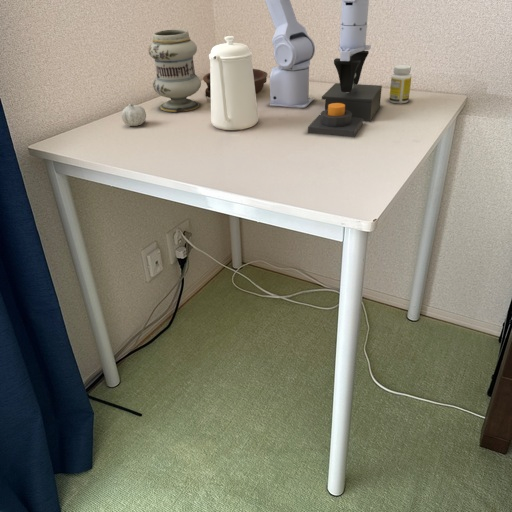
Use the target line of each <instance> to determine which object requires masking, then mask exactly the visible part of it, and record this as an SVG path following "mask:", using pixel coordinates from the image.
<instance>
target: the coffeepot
mask: <svg viewBox="0 0 512 512" xmlns="http://www.w3.org/2000/svg"><path fill="white" fill-rule="evenodd" d="M223 38H224V41H225V42H226V43H219V44H216V45H214V46H213V47H212V48H211V50H210V53H209V54H208V59H209V67H210V68H209V73H210V86H211V98H210V122H211V125H212V126H213V127H214V128H216V129H219V130H223V131H242V130H247V129H249V128H252V127H254V126H256V124H258V122H259V111H258V105H257V103H258V101H257V94H256V93H255V84H254V75H253V69H254V68H253V59H252V57H253V51H251V50H250V48H249V46H248V45H247V44H245V43H242V42H234V40H235V36H234V35H226V36H224V37H223Z"/></svg>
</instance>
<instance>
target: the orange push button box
mask: <svg viewBox="0 0 512 512" xmlns="http://www.w3.org/2000/svg"><path fill="white" fill-rule="evenodd" d="M363 122H364V121H363V118H356V117H352V113H351V112H350V111H348V110H345V115H342V116H330V115H328V110H325V109H324V110H322V111H321V112H320V114H318V116H316V118H315V119H314V120H313V121H312V122H311V123H310V124H309V125H308V126H307V134H312V135H323V136H336V137H346V138H355V136H356V135H357V134H358V132H359V131H360V129H361V127H362V126H363Z"/></svg>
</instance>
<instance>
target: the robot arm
mask: <svg viewBox="0 0 512 512" xmlns="http://www.w3.org/2000/svg"><path fill="white" fill-rule="evenodd" d="M264 2H265V4H266V7H267V10H268V13H269V16H270V19H271V21H272V24H273V27H274V30H275V32H274V34H273V36H272V39H271V43H272V46H273V59H274V61H275V63H276V64H277V66H273V67H272V69H271V71H270V75H269V95H270V97H269V98H270V100H269V101H270V103H269V106H271V107H282V108H283V107H284V108H298V109H305V108H307V107H308V106H309V105H310V104H311V103H312V102H313V101H314V98H313V97H309V95H310V93H309V91H310V65H311V60H312V59H313V58H314V56H315V52H316V44H315V42H314V40H313V39H312V38H311V36H309V34H308V31H307V29H306V28H305V26H303V24H301V23H300V22H298V19H297V17H296V14H295V11H294V8H293V6H292V2H291V0H264ZM369 4H370V0H341V9H340V10H341V11H340V27H339V29H340V31H339V45H338V51H339V53H340V55H339V56H340V57H339V58H338V57H336V58H334V59H333V65H334V67H335V70H336V71H337V75H338V80H339V83H340V87H341V92H351V90H352V86H353V81H354V84H359V81H360V79H361V75H362V71H363V66H364V64H365V61H366V59H367V57H368V56H369V51H370V50H371V49H372V45H370V44H366V42H367V31H368V18H369ZM355 73H356V77H355V78H354V76H355Z"/></svg>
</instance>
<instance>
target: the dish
mask: <svg viewBox="0 0 512 512" xmlns="http://www.w3.org/2000/svg"><path fill="white" fill-rule="evenodd" d="M253 75H254V84H255V93H256V95H257V94H258V93H260V92H262V91H263V89H264V85H265V84H266V83H267V78H268V73H267V72H266V71H265V70H261V69H258V68H253ZM202 80H203V82H204V83H205V84H206V86H207V87H206V88H205V90H204V91H205V92H204V93H205V97H207V98H209V99H211V86H210V72H209V73H207V74H204V76H203V77H202Z"/></svg>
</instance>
